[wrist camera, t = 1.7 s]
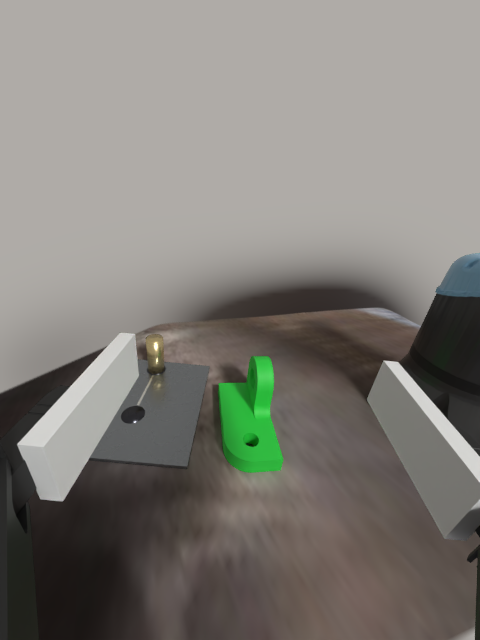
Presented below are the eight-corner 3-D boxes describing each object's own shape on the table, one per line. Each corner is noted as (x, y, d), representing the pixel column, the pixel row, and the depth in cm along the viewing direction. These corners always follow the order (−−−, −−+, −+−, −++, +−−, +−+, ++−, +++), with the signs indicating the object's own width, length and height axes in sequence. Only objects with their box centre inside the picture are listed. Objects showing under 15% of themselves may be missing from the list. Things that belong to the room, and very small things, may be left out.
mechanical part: (217, 393, 37) (221, 347, 34) (258, 392, 38) (265, 347, 35) (225, 475, 27) (231, 421, 23) (280, 471, 28) (294, 418, 24)
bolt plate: (209, 368, 42) (211, 336, 39) (187, 468, 27) (187, 429, 24) (117, 359, 42) (112, 327, 39) (42, 455, 27) (26, 414, 24)
